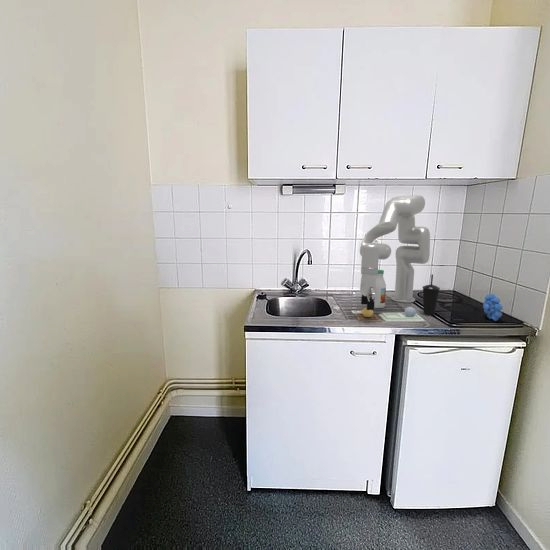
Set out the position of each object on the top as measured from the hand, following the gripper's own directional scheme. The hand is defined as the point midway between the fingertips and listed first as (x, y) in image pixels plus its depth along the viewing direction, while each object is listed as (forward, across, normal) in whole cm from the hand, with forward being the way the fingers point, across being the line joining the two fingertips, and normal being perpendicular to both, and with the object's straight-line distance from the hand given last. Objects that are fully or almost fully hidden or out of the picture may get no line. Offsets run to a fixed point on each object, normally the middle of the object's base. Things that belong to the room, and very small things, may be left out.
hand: (367, 306), depth 144 cm
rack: (+6, 0, +16) cm, 17 cm away
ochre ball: (+3, 0, 0) cm, 3 cm away
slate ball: (+2, 0, +20) cm, 21 cm away
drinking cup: (+5, -6, +32) cm, 33 cm away
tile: (+6, -10, -2) cm, 12 cm away
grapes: (+5, +2, +56) cm, 57 cm away
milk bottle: (+6, -20, +11) cm, 24 cm away
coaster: (+6, 0, 0) cm, 6 cm away
